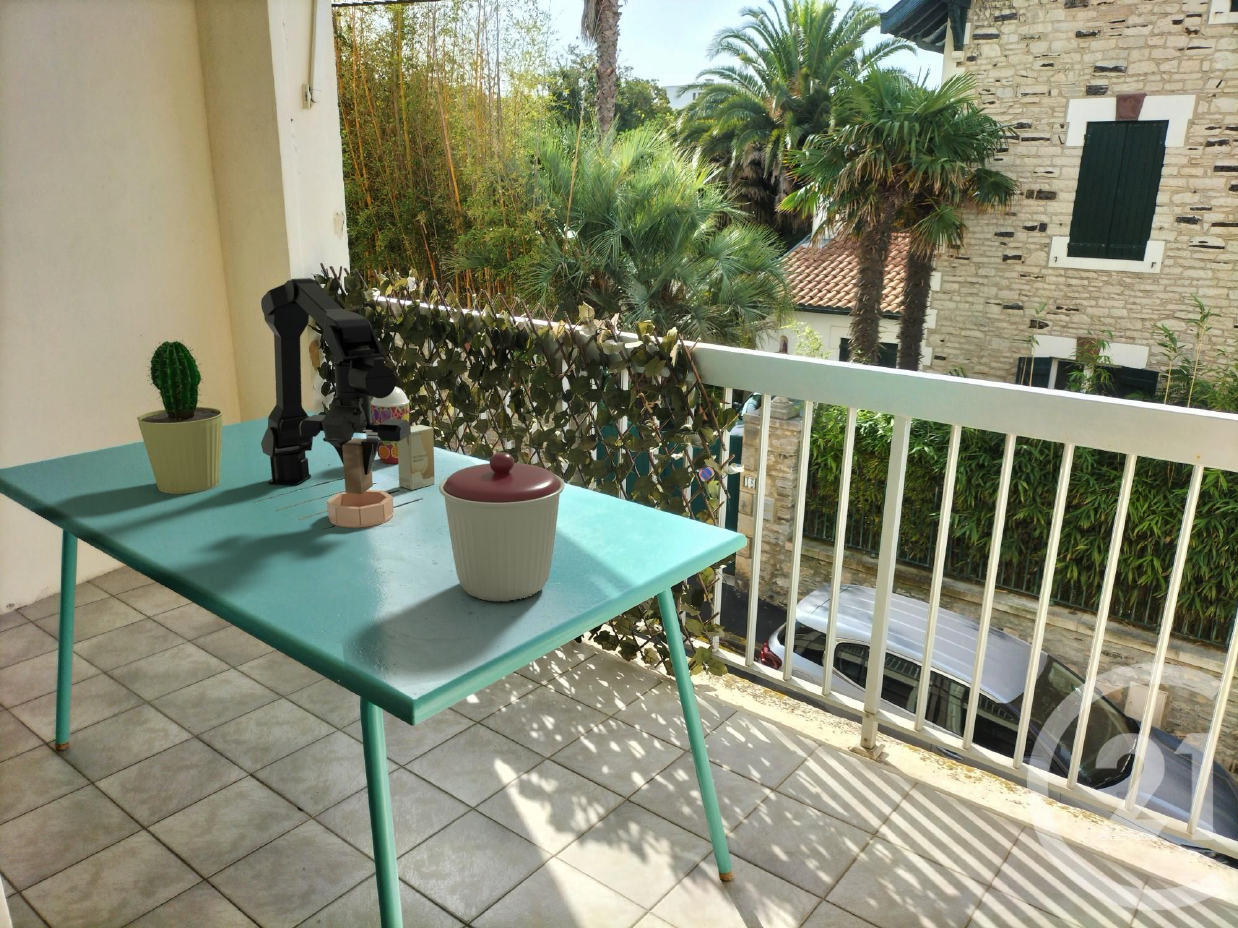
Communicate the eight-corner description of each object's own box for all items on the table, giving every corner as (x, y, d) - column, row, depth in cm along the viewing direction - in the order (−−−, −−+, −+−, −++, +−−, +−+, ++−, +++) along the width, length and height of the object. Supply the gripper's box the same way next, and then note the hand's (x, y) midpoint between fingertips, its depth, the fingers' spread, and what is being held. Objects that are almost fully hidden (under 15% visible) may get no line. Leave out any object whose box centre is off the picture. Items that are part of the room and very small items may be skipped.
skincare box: (412, 490, 174) (409, 432, 171) (398, 486, 177) (395, 429, 174) (436, 483, 179) (434, 426, 176) (422, 479, 182) (420, 423, 179)
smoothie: (367, 463, 193) (361, 375, 188) (387, 454, 201) (382, 369, 195) (400, 467, 191) (395, 378, 185) (419, 457, 199) (415, 372, 193)
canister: (434, 572, 135) (428, 442, 129) (545, 559, 141) (545, 434, 135) (455, 622, 118) (449, 475, 113) (579, 604, 125) (581, 464, 119)
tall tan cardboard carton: (345, 493, 155) (342, 444, 152) (357, 485, 160) (354, 438, 157) (361, 494, 155) (358, 445, 152) (372, 486, 159) (369, 439, 157)
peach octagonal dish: (318, 525, 154) (317, 506, 153) (345, 505, 165) (344, 488, 164) (378, 529, 152) (377, 510, 152) (401, 509, 163) (400, 491, 162)
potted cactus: (245, 476, 182) (230, 334, 174) (204, 498, 167) (186, 344, 159) (176, 472, 183) (158, 331, 175) (129, 494, 168) (107, 341, 160)
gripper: (280, 395, 145) (287, 483, 150) (385, 401, 143) (390, 490, 147) (311, 383, 156) (317, 466, 160) (409, 388, 154) (413, 472, 158)
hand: (358, 473), depth 156 cm, fingers closed on tall tan cardboard carton, 3 cm apart
